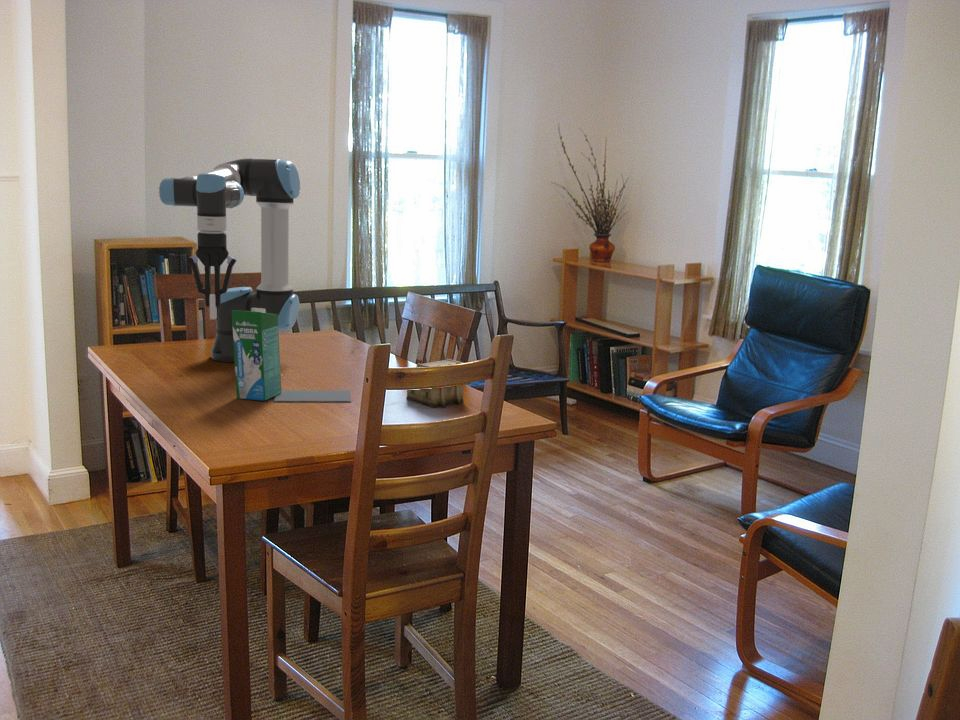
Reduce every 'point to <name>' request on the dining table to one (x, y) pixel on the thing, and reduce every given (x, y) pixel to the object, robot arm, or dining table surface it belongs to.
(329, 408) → the dining table surface
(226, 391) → the dining table surface
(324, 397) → the mat
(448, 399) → the miniature house
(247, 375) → the milk carton
